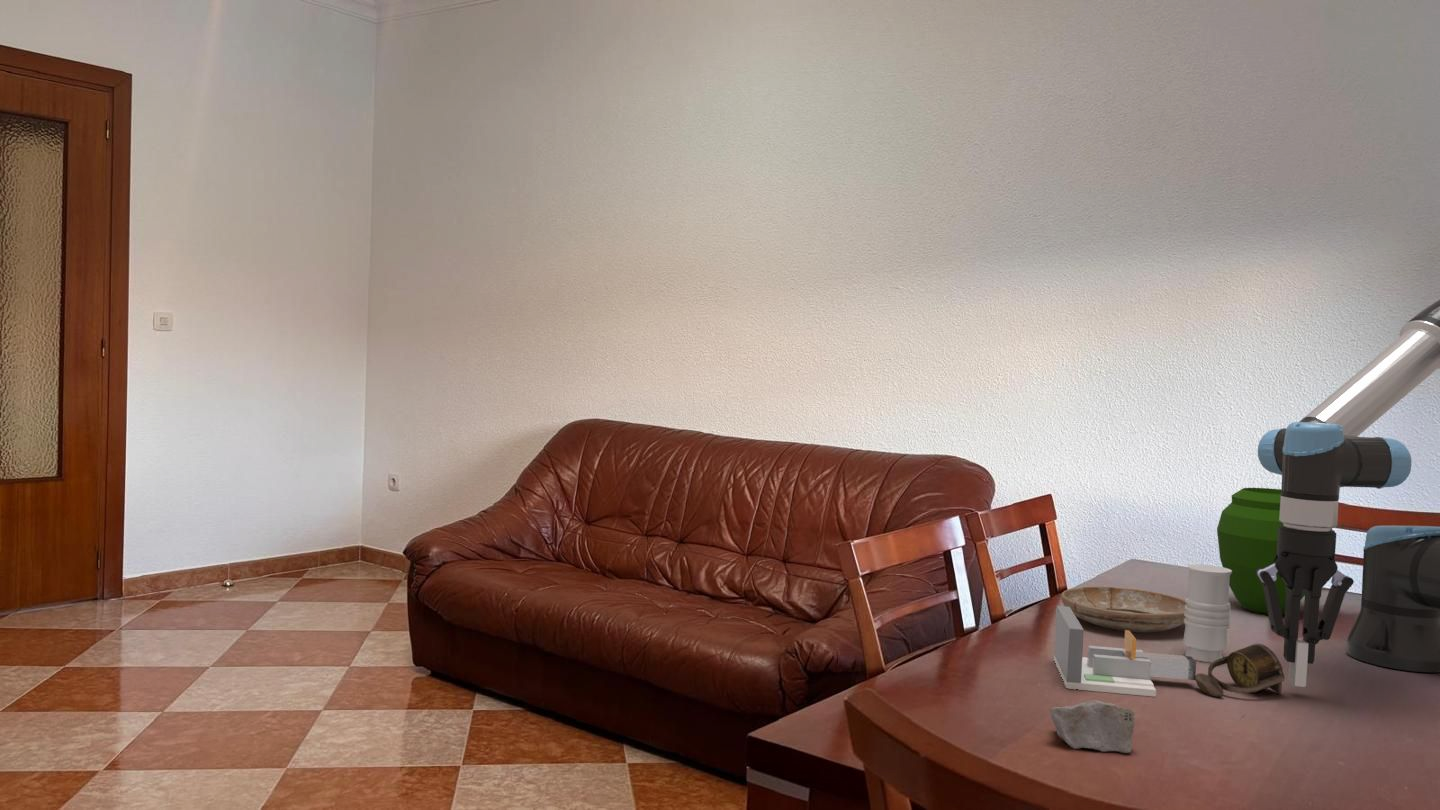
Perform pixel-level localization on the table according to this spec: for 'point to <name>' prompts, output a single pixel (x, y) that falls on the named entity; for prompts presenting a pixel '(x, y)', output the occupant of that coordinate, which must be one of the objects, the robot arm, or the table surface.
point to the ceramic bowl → (1125, 608)
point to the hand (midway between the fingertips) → (1297, 683)
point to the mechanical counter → (1245, 672)
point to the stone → (1095, 726)
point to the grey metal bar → (1162, 661)
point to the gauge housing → (1097, 662)
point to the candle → (1207, 612)
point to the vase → (1251, 544)
